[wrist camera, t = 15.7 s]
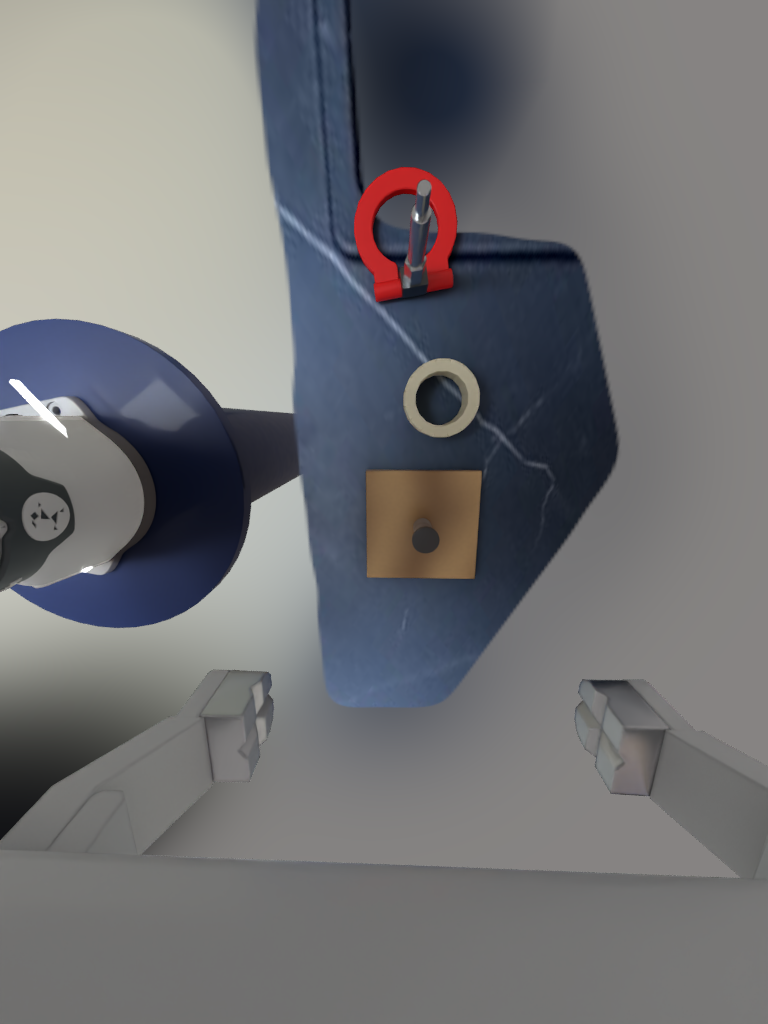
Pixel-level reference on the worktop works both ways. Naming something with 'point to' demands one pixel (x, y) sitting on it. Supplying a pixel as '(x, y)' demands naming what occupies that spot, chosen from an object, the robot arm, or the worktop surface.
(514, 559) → the worktop surface
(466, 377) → the tape roll
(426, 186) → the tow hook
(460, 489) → the peg stand
